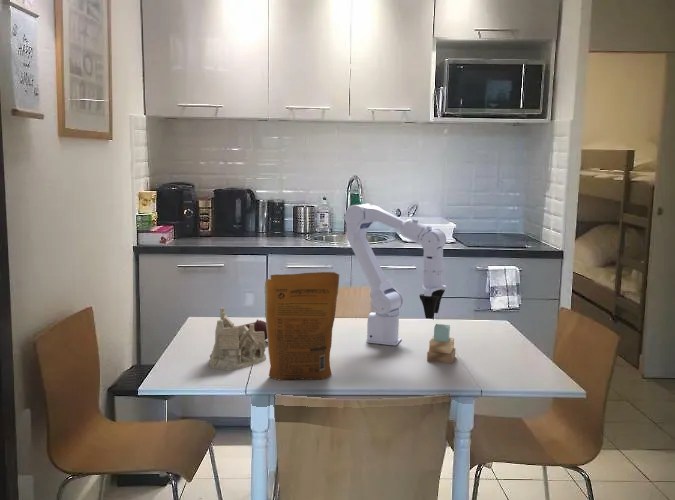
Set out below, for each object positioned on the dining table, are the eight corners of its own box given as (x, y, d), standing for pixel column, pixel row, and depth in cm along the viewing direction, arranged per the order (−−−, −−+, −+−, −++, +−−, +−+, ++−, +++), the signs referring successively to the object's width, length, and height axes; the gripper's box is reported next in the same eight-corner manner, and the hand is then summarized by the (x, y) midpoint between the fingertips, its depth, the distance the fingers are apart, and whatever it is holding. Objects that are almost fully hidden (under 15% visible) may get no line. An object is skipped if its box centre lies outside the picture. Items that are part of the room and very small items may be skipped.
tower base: (426, 362, 195) (427, 351, 195) (431, 355, 202) (431, 345, 201) (451, 364, 193) (452, 354, 193) (455, 358, 200) (455, 348, 199)
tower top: (429, 351, 196) (429, 341, 195) (433, 345, 201) (433, 335, 201) (450, 353, 194) (450, 343, 193) (453, 348, 199) (454, 338, 199)
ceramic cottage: (204, 369, 183) (207, 314, 182) (214, 353, 199) (217, 302, 198) (262, 374, 183) (266, 318, 182) (267, 358, 200) (271, 307, 198)
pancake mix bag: (338, 381, 176) (341, 273, 172) (264, 382, 174) (264, 273, 170) (335, 373, 183) (338, 269, 179) (263, 374, 180) (264, 269, 176)
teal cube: (433, 341, 195) (434, 327, 195) (435, 337, 199) (436, 324, 198) (447, 342, 194) (448, 328, 194) (449, 338, 198) (449, 325, 197)
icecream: (231, 323, 206) (281, 329, 206) (235, 312, 213) (284, 317, 213) (230, 344, 209) (279, 349, 209) (234, 331, 216) (282, 337, 216)
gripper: (442, 275, 195) (440, 322, 197) (450, 267, 209) (449, 311, 210) (417, 273, 197) (416, 320, 199) (427, 266, 211) (426, 309, 213)
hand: (431, 315), depth 205 cm, fingers open, 7 cm apart
